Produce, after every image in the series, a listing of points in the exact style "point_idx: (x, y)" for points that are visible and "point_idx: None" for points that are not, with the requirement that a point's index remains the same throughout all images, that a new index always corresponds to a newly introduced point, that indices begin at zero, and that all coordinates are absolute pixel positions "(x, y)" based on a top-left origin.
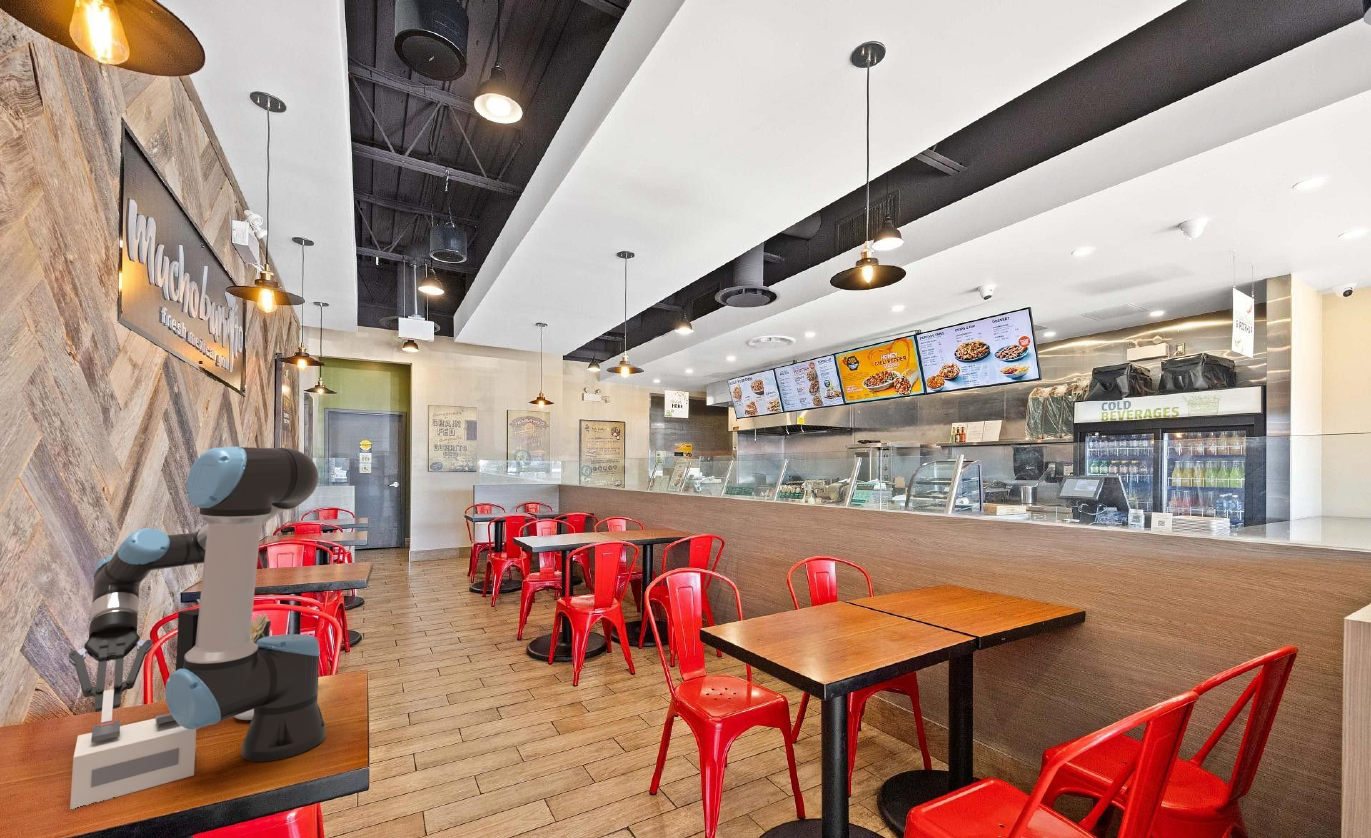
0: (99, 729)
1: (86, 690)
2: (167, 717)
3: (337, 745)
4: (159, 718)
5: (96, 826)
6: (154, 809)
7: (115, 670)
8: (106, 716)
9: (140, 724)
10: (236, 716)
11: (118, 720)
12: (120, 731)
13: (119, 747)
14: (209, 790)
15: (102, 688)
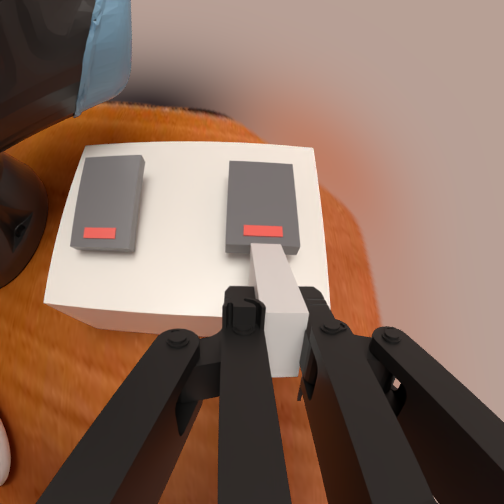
0: (279, 204)
1: (389, 328)
2: (118, 158)
3: None
4: (135, 156)
5: (252, 132)
6: (187, 129)
7: (275, 421)
8: (268, 249)
9: (170, 281)
10: (3, 431)
11: (230, 243)
12: (223, 256)
13: (229, 144)
14: (120, 137)
15: (319, 327)
